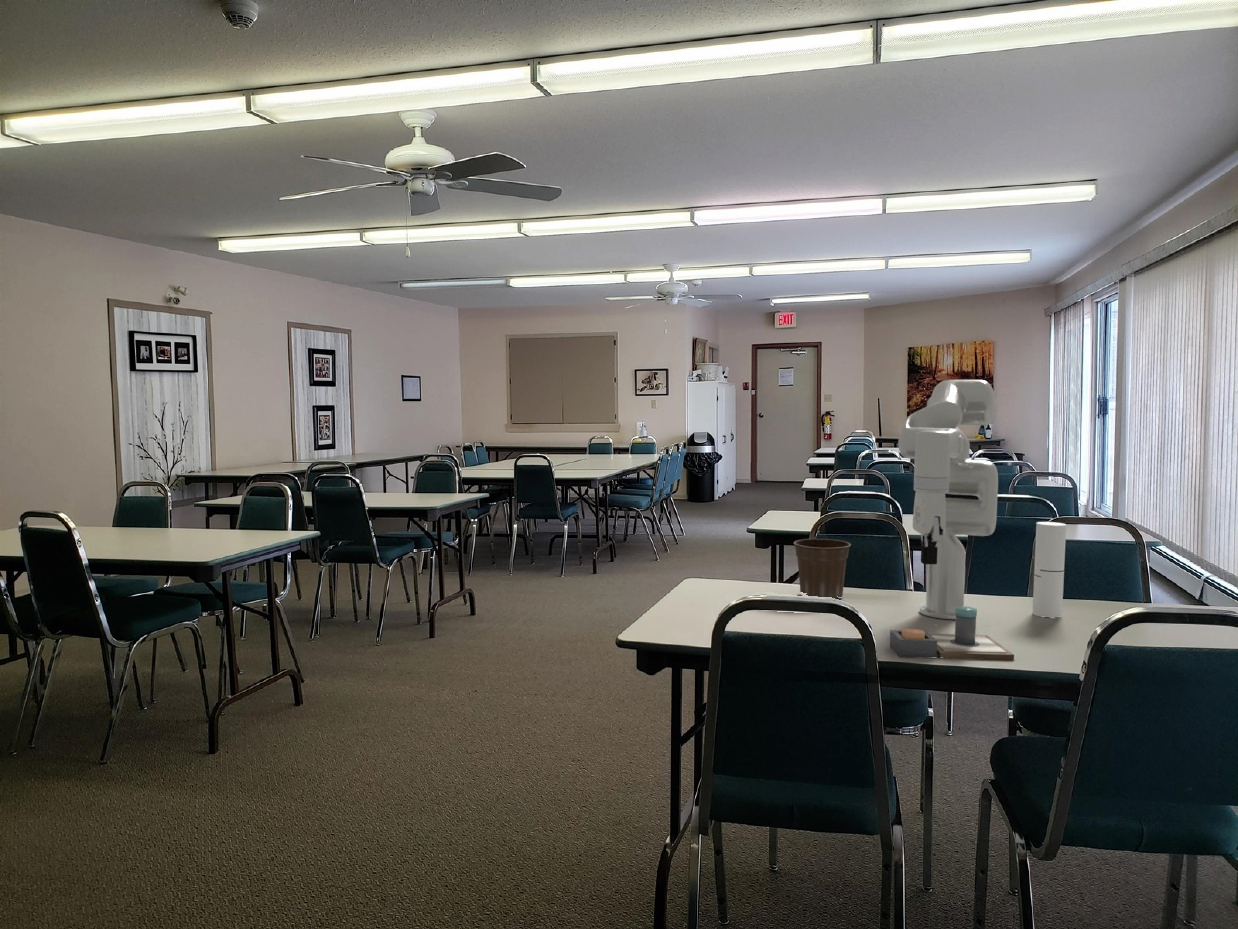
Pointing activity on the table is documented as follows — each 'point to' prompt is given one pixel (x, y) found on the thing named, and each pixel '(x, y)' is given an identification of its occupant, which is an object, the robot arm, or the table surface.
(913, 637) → the button
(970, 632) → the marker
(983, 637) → the board
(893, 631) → the button housing
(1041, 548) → the cylindrical container
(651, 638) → the table surface
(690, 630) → the table surface
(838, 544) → the plant pot
